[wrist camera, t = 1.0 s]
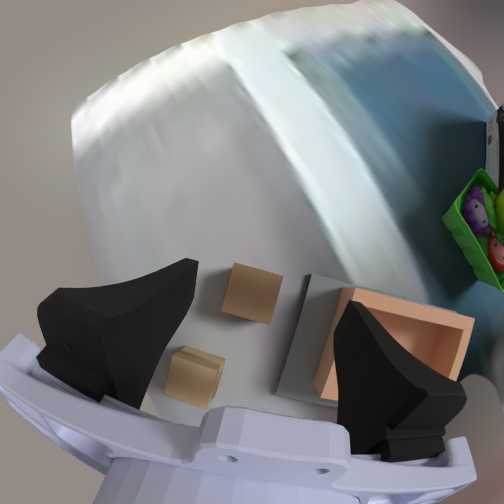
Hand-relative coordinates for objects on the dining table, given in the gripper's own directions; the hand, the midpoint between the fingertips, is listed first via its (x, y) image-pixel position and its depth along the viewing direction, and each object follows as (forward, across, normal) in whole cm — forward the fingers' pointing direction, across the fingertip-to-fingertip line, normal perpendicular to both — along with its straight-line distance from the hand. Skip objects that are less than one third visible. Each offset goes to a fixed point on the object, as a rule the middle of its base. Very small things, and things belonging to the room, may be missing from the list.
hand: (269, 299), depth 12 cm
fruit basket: (+16, -22, -4) cm, 28 cm away
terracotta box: (+8, -13, +8) cm, 18 cm away
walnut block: (+11, +1, +7) cm, 13 cm away
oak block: (+7, +4, +15) cm, 17 cm away
